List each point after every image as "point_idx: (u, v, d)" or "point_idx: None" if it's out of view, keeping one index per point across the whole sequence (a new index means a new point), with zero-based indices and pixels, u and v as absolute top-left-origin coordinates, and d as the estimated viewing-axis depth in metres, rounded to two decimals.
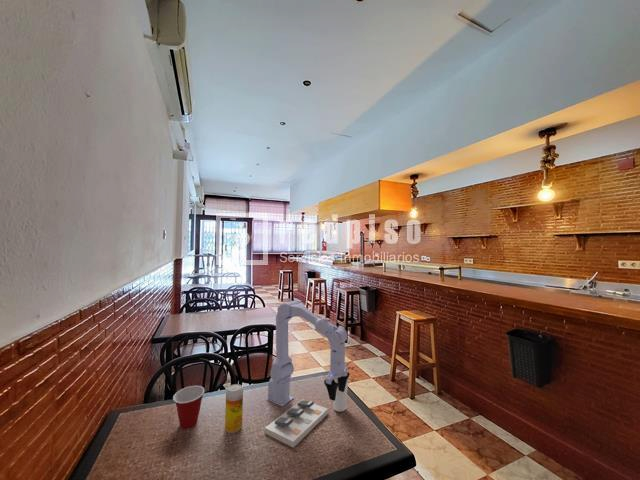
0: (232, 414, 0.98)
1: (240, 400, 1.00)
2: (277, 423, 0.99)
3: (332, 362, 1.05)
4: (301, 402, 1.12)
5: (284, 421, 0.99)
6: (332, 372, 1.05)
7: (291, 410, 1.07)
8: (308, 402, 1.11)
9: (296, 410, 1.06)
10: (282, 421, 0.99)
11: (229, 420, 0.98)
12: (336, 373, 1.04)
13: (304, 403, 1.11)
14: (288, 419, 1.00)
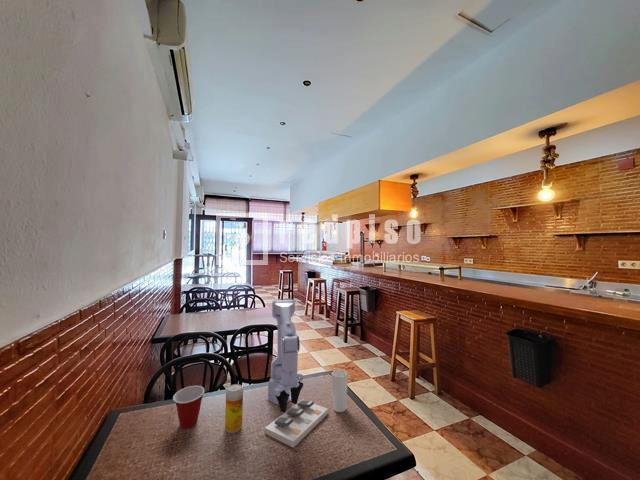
0: (232, 414, 0.98)
1: (240, 400, 1.00)
2: (277, 423, 0.99)
3: (283, 372, 0.98)
4: (301, 402, 1.12)
5: (284, 421, 0.99)
6: (283, 383, 0.97)
7: (291, 410, 1.07)
8: (308, 402, 1.11)
9: (296, 410, 1.06)
10: (282, 421, 0.99)
11: (229, 420, 0.98)
12: (287, 384, 0.97)
13: (304, 403, 1.11)
14: (288, 419, 1.00)
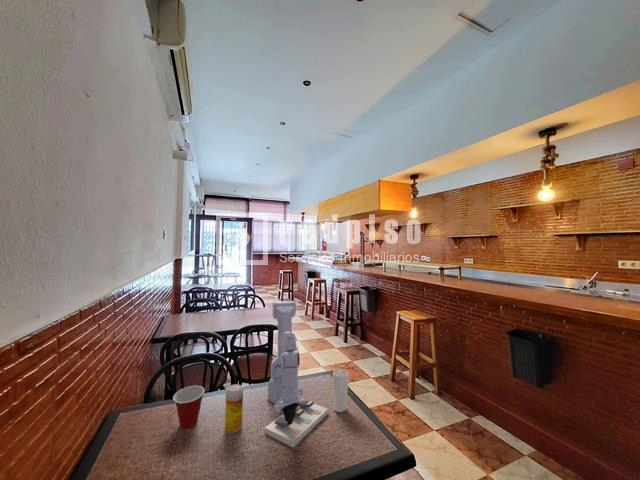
0: (232, 414, 0.98)
1: (240, 400, 1.00)
2: (277, 423, 0.99)
3: (283, 387, 0.97)
4: (301, 402, 1.12)
5: (284, 421, 0.99)
6: (283, 398, 0.97)
7: None
8: (308, 402, 1.11)
9: (296, 410, 1.06)
10: (282, 421, 0.99)
11: (229, 420, 0.98)
12: (287, 400, 0.96)
13: (304, 403, 1.11)
14: None
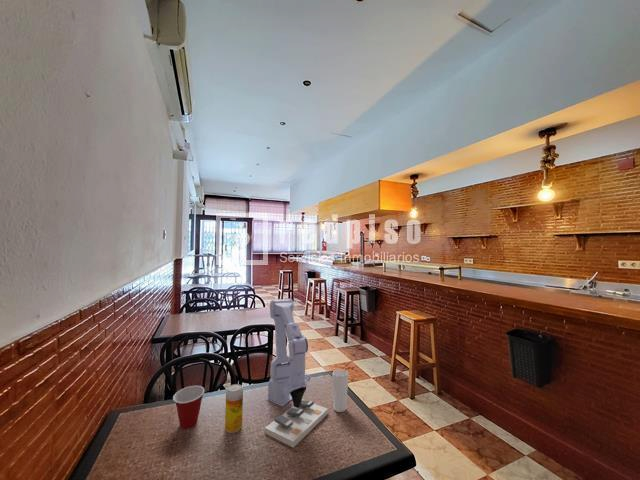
0: (232, 414, 0.98)
1: (240, 400, 1.00)
2: (277, 421, 0.99)
3: (291, 372, 1.02)
4: (301, 402, 1.12)
5: (284, 422, 0.99)
6: (291, 383, 1.02)
7: (291, 410, 1.07)
8: (308, 402, 1.11)
9: (296, 410, 1.06)
10: (282, 421, 0.99)
11: (229, 420, 0.98)
12: (295, 384, 1.01)
13: (304, 403, 1.11)
14: (288, 421, 1.00)
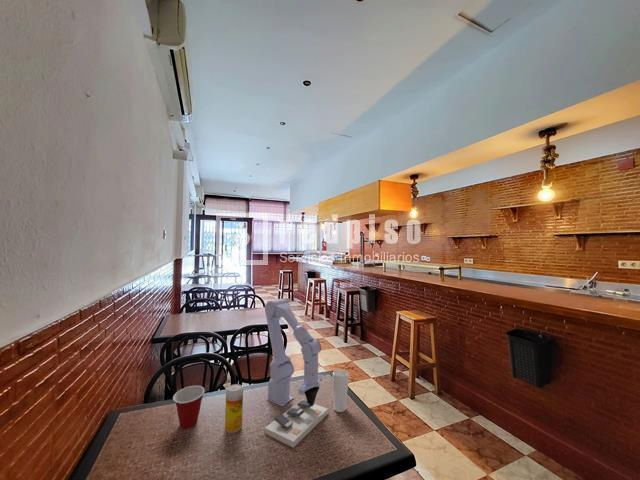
0: (232, 414, 0.98)
1: (240, 400, 1.00)
2: (277, 421, 0.99)
3: (305, 373, 1.09)
4: (301, 402, 1.12)
5: (284, 423, 0.99)
6: (305, 383, 1.09)
7: (291, 410, 1.07)
8: None
9: (296, 410, 1.06)
10: (282, 422, 0.99)
11: (229, 420, 0.98)
12: (309, 384, 1.08)
13: (304, 403, 1.11)
14: (288, 422, 1.00)
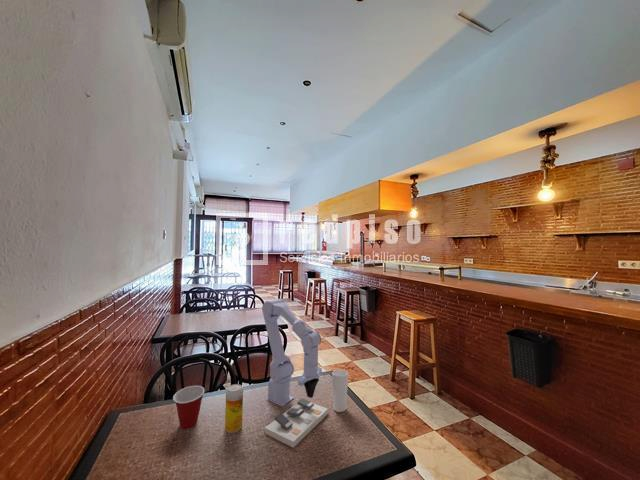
0: (232, 414, 0.98)
1: (240, 400, 1.00)
2: (277, 420, 0.99)
3: (305, 365, 1.09)
4: (301, 401, 1.12)
5: (284, 423, 0.99)
6: (305, 374, 1.09)
7: (291, 410, 1.07)
8: (308, 403, 1.11)
9: (296, 410, 1.06)
10: (283, 422, 0.99)
11: (229, 420, 0.98)
12: (309, 375, 1.08)
13: (304, 403, 1.11)
14: (288, 422, 0.99)
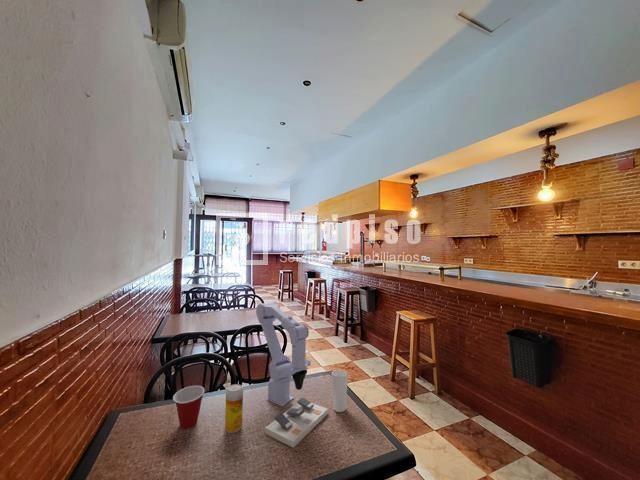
0: (232, 414, 0.98)
1: (240, 400, 1.00)
2: (277, 420, 0.99)
3: (293, 357, 1.11)
4: (301, 400, 1.12)
5: (284, 423, 0.99)
6: (293, 366, 1.11)
7: (291, 410, 1.07)
8: (308, 403, 1.11)
9: (296, 410, 1.06)
10: (283, 422, 0.99)
11: (229, 420, 0.98)
12: (297, 367, 1.10)
13: (305, 403, 1.11)
14: (288, 422, 0.99)
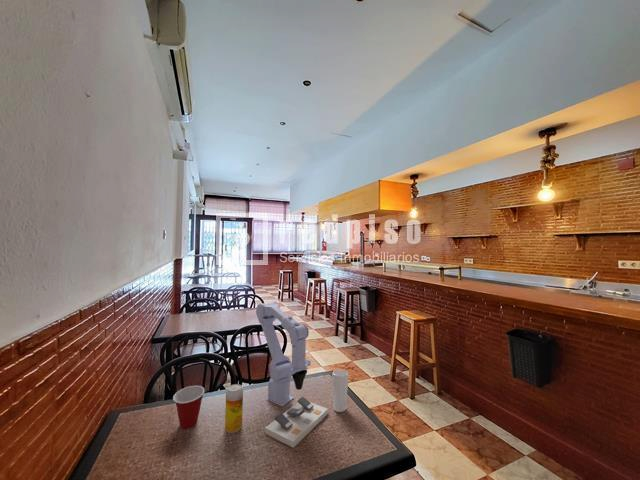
0: (232, 414, 0.98)
1: (240, 400, 1.00)
2: (277, 420, 0.99)
3: (293, 357, 1.11)
4: (302, 400, 1.12)
5: (284, 423, 0.99)
6: (293, 366, 1.11)
7: (291, 410, 1.07)
8: (308, 404, 1.11)
9: (296, 410, 1.06)
10: (283, 422, 0.99)
11: (229, 420, 0.98)
12: (297, 367, 1.10)
13: (305, 403, 1.11)
14: (288, 422, 0.99)
